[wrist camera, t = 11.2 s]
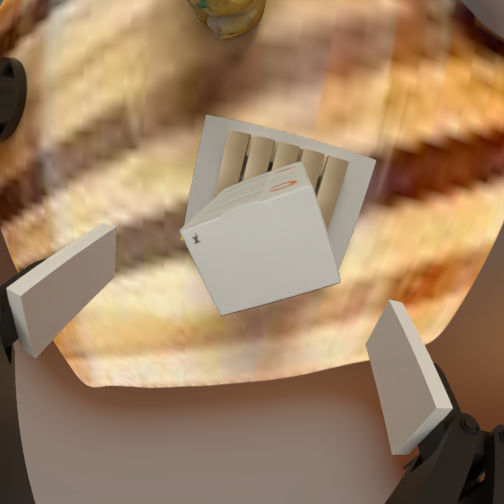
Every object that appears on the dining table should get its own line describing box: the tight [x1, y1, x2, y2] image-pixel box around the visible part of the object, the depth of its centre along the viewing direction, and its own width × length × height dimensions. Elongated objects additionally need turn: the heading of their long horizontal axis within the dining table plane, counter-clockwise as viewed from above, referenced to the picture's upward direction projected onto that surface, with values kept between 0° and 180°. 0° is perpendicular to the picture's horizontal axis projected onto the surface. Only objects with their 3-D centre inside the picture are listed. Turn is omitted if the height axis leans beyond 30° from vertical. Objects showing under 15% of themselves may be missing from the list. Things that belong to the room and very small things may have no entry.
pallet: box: [214, 130, 349, 231], centre depth 31 cm, size 12×12×2 cm
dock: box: [181, 115, 376, 271], centre depth 33 cm, size 18×14×4 cm
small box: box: [180, 161, 341, 316], centre depth 24 cm, size 8×6×13 cm
